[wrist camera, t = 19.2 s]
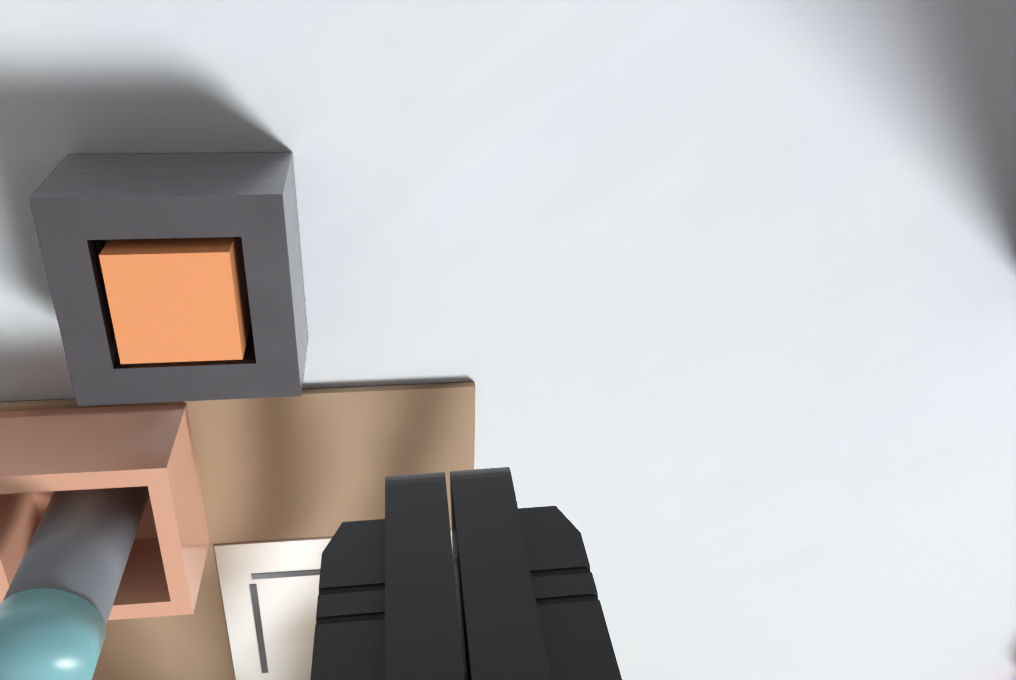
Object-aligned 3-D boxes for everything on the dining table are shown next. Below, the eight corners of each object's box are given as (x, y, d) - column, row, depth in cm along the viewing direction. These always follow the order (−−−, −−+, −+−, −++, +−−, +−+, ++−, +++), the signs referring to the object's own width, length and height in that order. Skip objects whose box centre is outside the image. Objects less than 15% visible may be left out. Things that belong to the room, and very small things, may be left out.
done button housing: (292, 151, 35) (282, 194, 31) (308, 338, 39) (301, 396, 35) (68, 154, 34) (29, 198, 30) (107, 345, 38) (77, 406, 34)
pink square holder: (186, 403, 39) (166, 467, 35) (209, 541, 43) (193, 614, 39) (-6, 411, 38) (-48, 479, 34) (35, 552, 42) (0, 627, 38)
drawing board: (474, 381, 41) (475, 388, 40) (469, 681, 50) (470, 689, 50) (-9, 402, 38) (-13, 409, 38) (81, 713, 48) (78, 722, 47)
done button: (239, 219, 34) (229, 252, 31) (251, 320, 36) (242, 359, 33) (119, 221, 33) (98, 255, 31) (138, 324, 35) (120, 364, 33)
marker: (143, 449, 39) (79, 627, 31) (157, 519, 41) (100, 705, 32) (49, 454, 39) (-43, 636, 30) (67, 524, 41) (-15, 715, 32)
